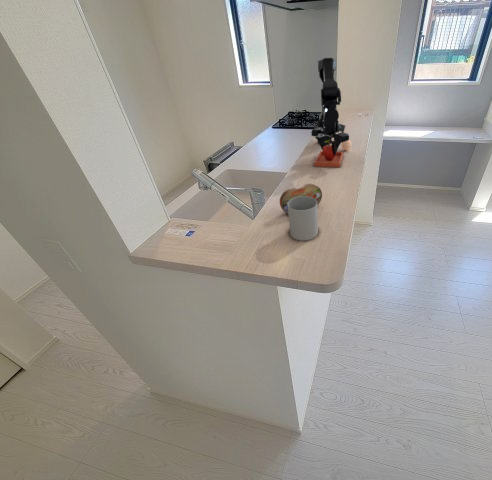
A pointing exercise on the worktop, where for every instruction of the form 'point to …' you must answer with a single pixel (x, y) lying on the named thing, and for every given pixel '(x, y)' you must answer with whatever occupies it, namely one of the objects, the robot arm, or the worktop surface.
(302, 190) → the tin
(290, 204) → the cup
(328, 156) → the apple
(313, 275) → the worktop surface
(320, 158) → the tray
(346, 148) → the egg
